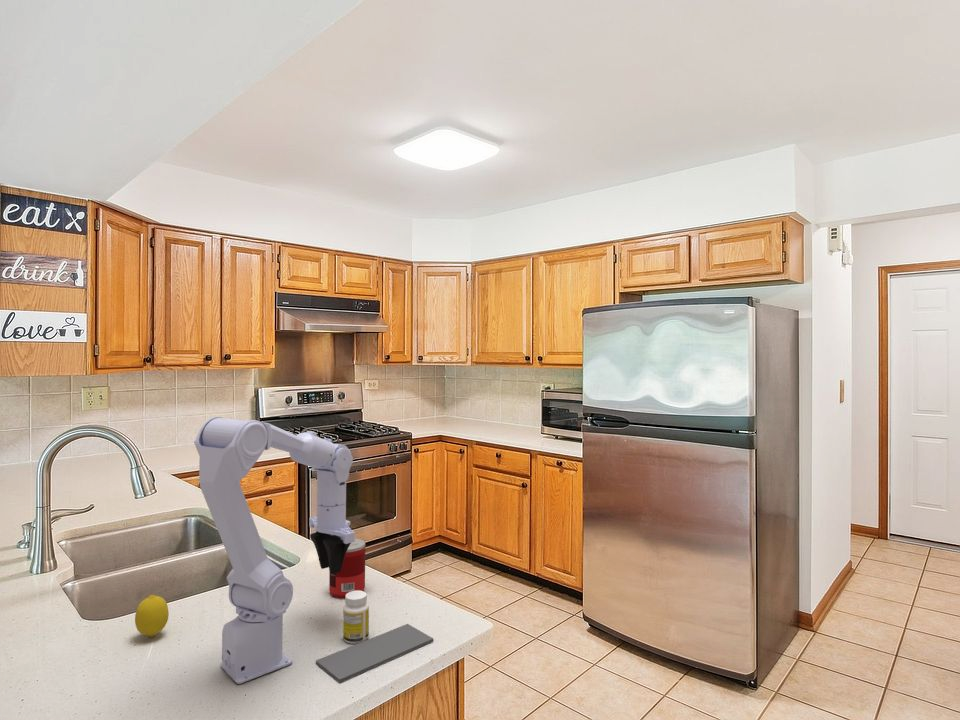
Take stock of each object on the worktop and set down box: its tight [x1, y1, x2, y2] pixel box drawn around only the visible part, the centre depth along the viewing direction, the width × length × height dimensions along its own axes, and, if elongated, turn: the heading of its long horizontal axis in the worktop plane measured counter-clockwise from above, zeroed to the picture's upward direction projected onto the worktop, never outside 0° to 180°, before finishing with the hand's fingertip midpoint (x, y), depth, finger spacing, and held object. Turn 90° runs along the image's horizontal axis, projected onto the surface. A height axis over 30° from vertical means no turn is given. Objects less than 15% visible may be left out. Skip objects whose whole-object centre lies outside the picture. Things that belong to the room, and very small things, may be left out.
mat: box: [315, 623, 434, 684], centre depth 105 cm, size 20×8×1 cm, turn 134°
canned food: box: [328, 538, 366, 599], centre depth 131 cm, size 8×8×11 cm
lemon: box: [134, 594, 169, 638], centre depth 110 cm, size 6×6×8 cm
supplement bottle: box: [342, 590, 370, 645], centre depth 110 cm, size 5×5×8 cm
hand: (330, 569), depth 117 cm, fingers open, 3 cm apart
